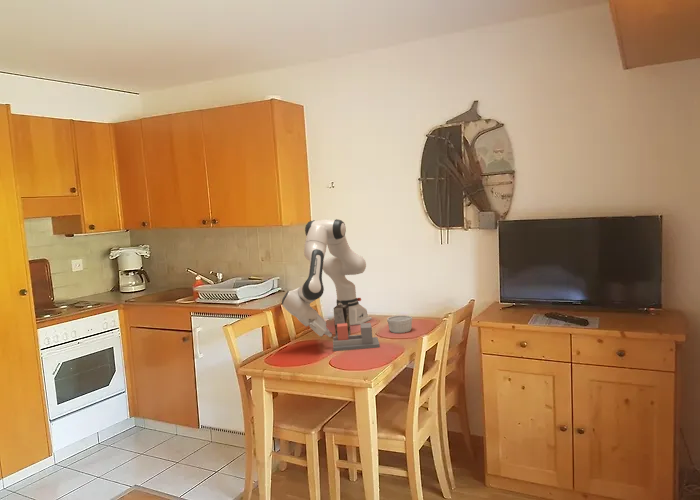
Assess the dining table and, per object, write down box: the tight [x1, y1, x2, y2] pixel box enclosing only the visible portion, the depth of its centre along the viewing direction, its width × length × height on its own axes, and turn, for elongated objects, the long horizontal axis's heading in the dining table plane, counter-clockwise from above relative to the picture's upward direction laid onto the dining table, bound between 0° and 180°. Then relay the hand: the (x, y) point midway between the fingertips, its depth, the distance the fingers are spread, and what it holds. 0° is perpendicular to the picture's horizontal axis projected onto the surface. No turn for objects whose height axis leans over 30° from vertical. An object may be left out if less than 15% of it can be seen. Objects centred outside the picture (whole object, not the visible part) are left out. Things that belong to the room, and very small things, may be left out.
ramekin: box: [387, 314, 413, 334], centre depth 292 cm, size 13×13×7 cm
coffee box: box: [333, 304, 351, 337], centre depth 289 cm, size 9×6×16 cm
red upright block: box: [337, 323, 348, 341], centre depth 269 cm, size 5×6×9 cm
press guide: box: [332, 322, 381, 352], centre depth 269 cm, size 22×14×10 cm, turn 91°
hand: (331, 335), depth 269 cm, fingers closed
